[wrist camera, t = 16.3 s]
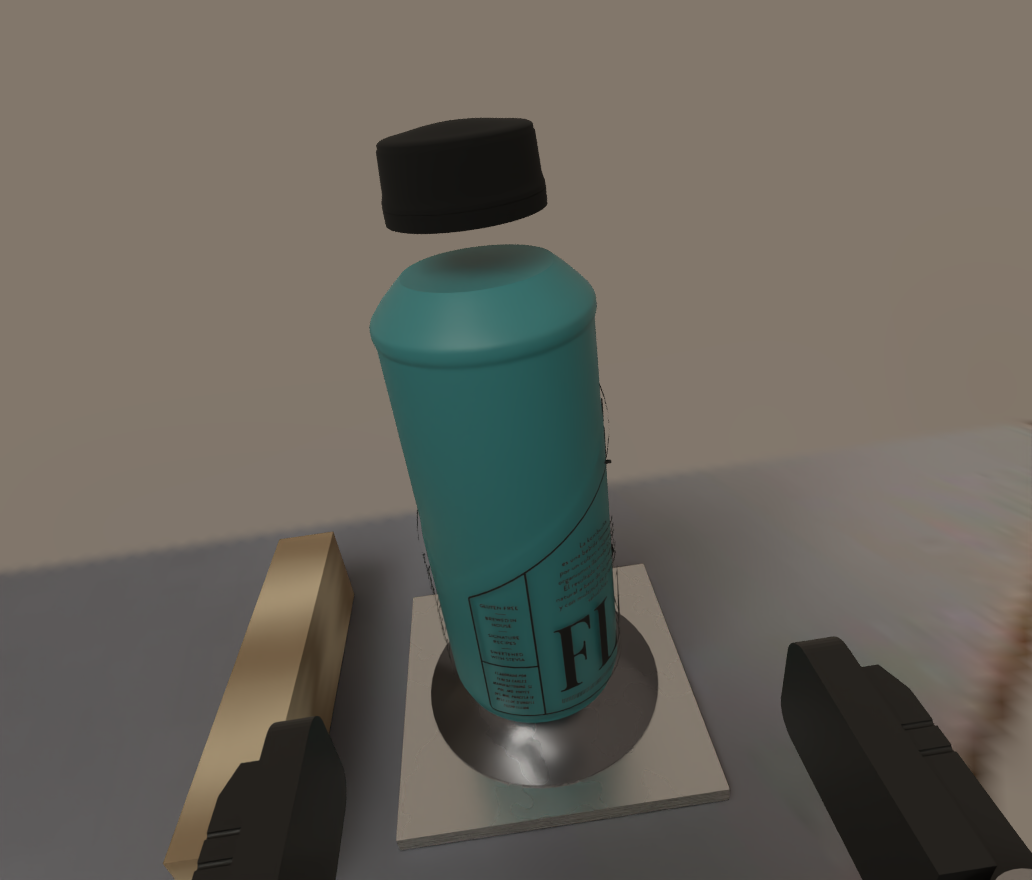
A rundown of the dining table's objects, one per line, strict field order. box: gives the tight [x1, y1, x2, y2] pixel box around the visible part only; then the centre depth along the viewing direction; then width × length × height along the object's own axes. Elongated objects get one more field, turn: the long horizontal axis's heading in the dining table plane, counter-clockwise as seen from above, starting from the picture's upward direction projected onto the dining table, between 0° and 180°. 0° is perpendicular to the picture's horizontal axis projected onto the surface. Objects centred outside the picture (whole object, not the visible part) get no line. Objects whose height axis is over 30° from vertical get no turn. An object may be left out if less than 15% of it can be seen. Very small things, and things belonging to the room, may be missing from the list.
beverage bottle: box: [369, 118, 621, 723], centre depth 20 cm, size 6×7×20 cm
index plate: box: [396, 564, 730, 850], centre depth 26 cm, size 11×11×1 cm
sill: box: [163, 532, 354, 880], centre depth 25 cm, size 14×2×4 cm, turn 5°
